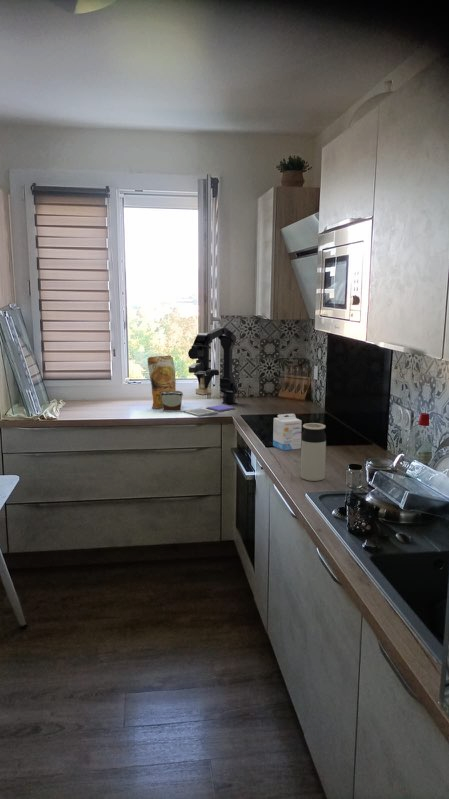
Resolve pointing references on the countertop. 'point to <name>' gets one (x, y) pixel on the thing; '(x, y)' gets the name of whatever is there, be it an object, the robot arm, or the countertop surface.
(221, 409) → the ink pad
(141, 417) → the countertop surface
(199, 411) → the marked board
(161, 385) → the pancake mix bag
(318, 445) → the travel mug
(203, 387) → the stamp
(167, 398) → the food container
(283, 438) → the ink box
